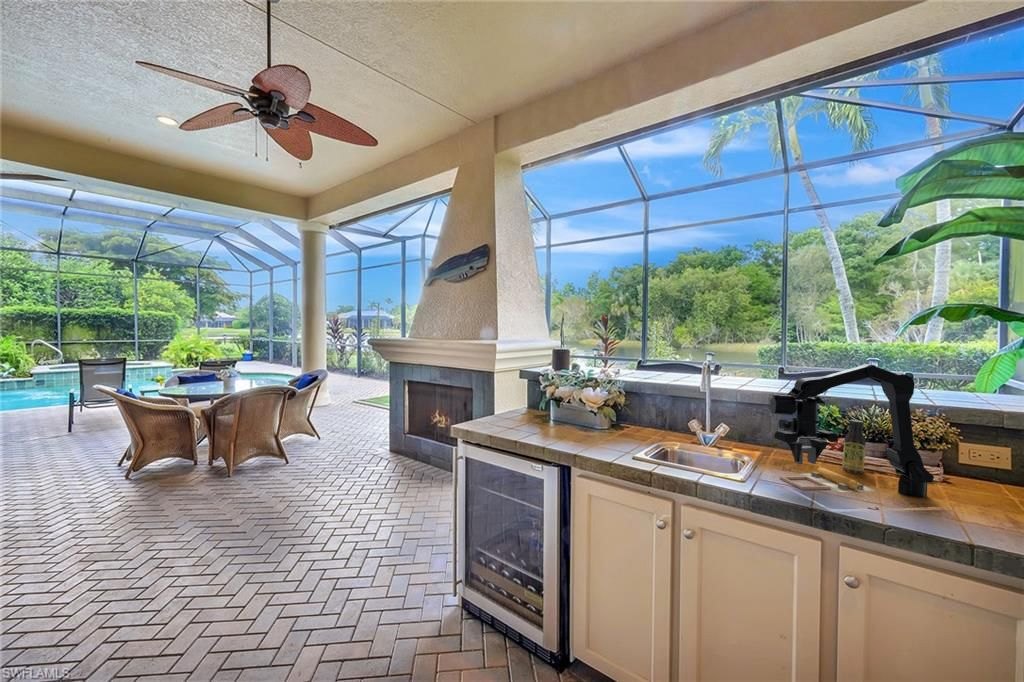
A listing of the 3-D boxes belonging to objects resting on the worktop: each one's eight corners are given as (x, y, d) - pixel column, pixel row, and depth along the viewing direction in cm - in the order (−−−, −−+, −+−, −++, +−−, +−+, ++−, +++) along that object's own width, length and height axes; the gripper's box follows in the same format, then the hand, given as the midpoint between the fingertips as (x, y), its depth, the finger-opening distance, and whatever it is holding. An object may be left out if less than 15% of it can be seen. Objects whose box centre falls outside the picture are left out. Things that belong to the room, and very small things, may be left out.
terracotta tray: (806, 480, 143) (806, 475, 143) (830, 491, 133) (830, 486, 133) (779, 480, 143) (779, 476, 143) (801, 491, 133) (802, 487, 133)
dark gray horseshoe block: (810, 461, 139) (810, 446, 139) (815, 463, 137) (816, 448, 137) (794, 461, 139) (794, 446, 139) (799, 464, 137) (800, 448, 136)
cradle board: (799, 475, 148) (799, 469, 148) (832, 475, 149) (832, 469, 149) (840, 494, 131) (840, 487, 131) (877, 493, 132) (877, 487, 132)
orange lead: (814, 474, 147) (814, 466, 147) (822, 474, 147) (822, 466, 147) (851, 490, 132) (852, 481, 132) (860, 490, 133) (860, 481, 132)
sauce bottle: (841, 472, 152) (843, 420, 152) (842, 468, 157) (844, 417, 156) (864, 477, 148) (866, 423, 147) (865, 472, 152) (866, 420, 152)
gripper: (813, 411, 146) (811, 453, 147) (763, 411, 145) (762, 454, 145) (840, 417, 135) (838, 463, 135) (787, 417, 134) (785, 464, 134)
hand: (805, 461), depth 138 cm, fingers closed on dark gray horseshoe block, 6 cm apart
